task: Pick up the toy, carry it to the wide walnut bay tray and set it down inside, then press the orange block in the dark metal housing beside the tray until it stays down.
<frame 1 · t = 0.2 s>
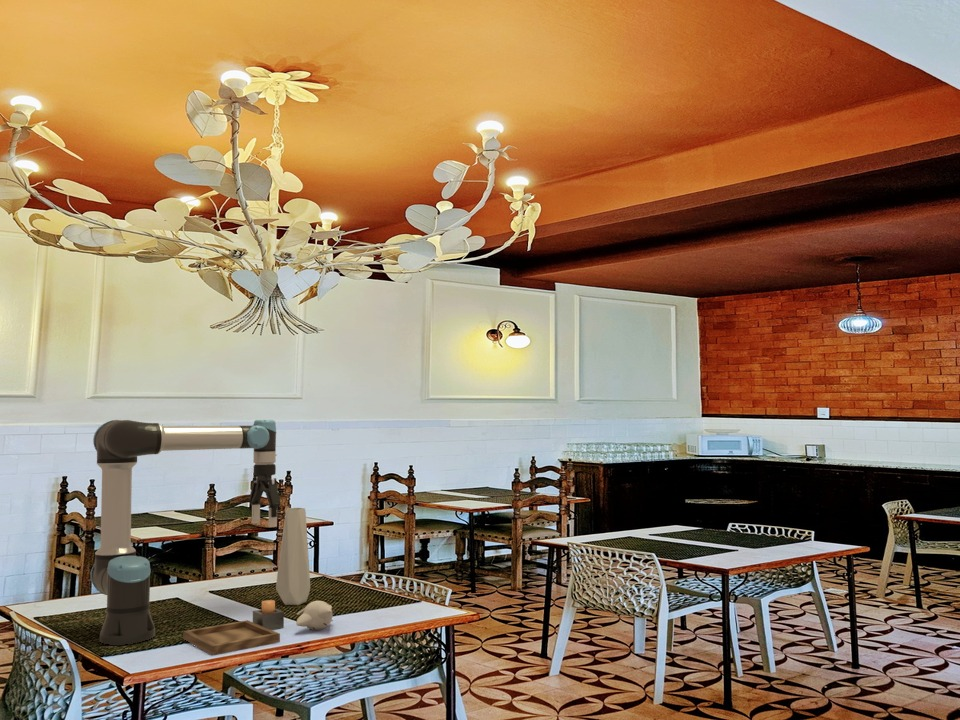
hand: (264, 525, 287), 28 cm above the table, fingers open, 13 cm apart
vase: (295, 603, 290), on the table
bay: (231, 640, 240), on the table
orange block: (268, 609, 255), point 5 cm above the table, slide at 0.0 cm
button housing: (268, 627, 255), on the table
toy: (314, 629, 253), on the table
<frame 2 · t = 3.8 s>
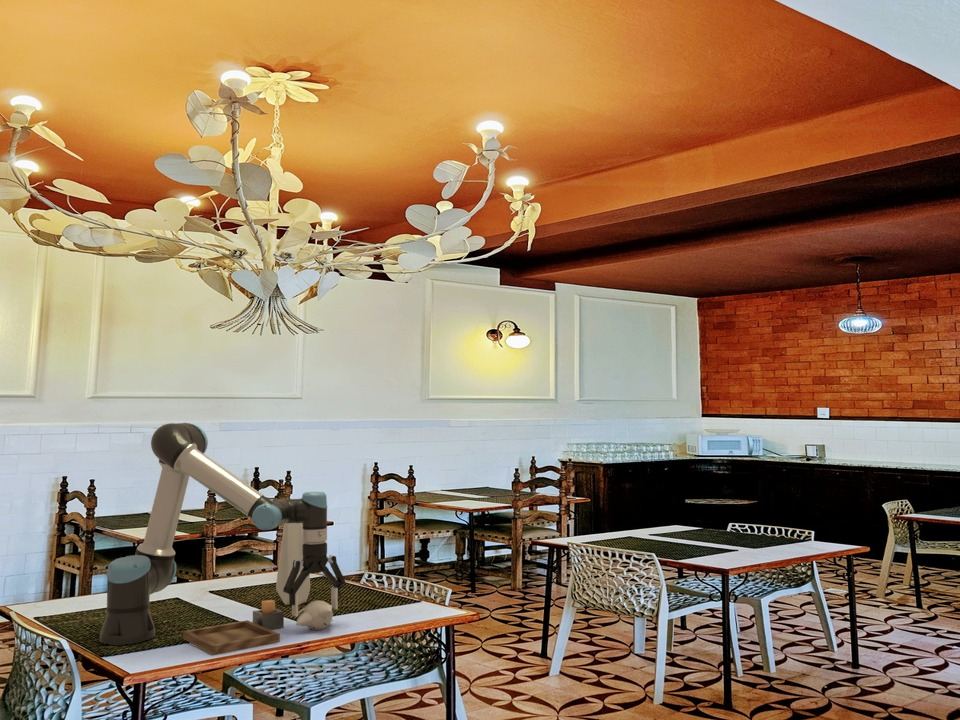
hand: (315, 612, 253), 5 cm above the table, fingers open, 13 cm apart
toy: (314, 629, 253), on the table, touching gripper
everything else where it was.
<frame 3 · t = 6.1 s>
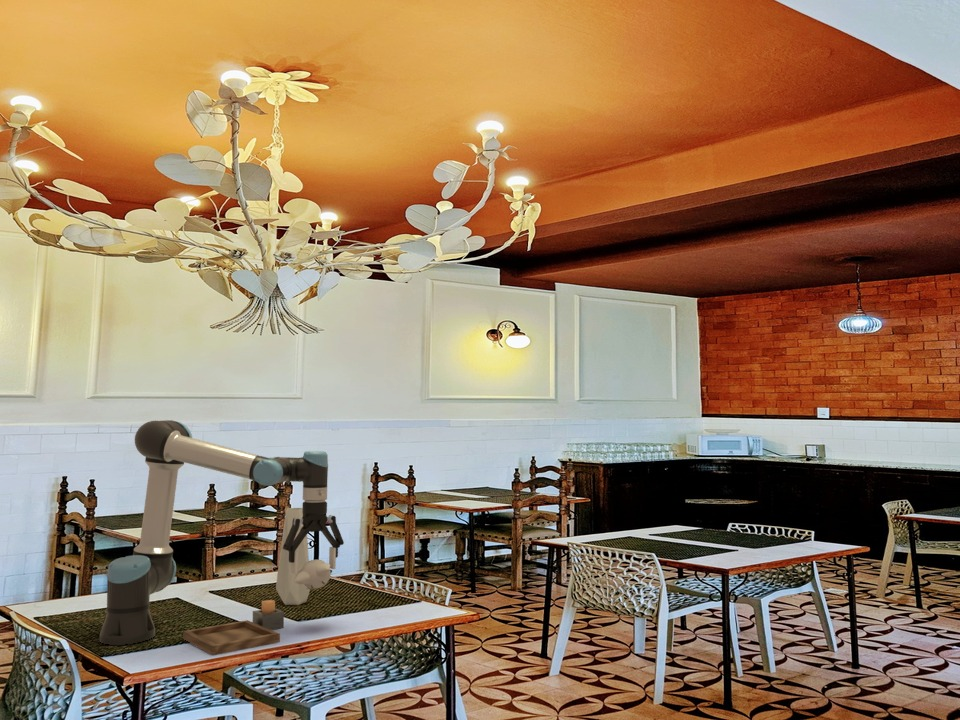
hand: (313, 571, 254), 18 cm above the table, fingers closed on toy, 12 cm apart
toy: (312, 588, 254), point 12 cm above the table, touching gripper
everything else where it was.
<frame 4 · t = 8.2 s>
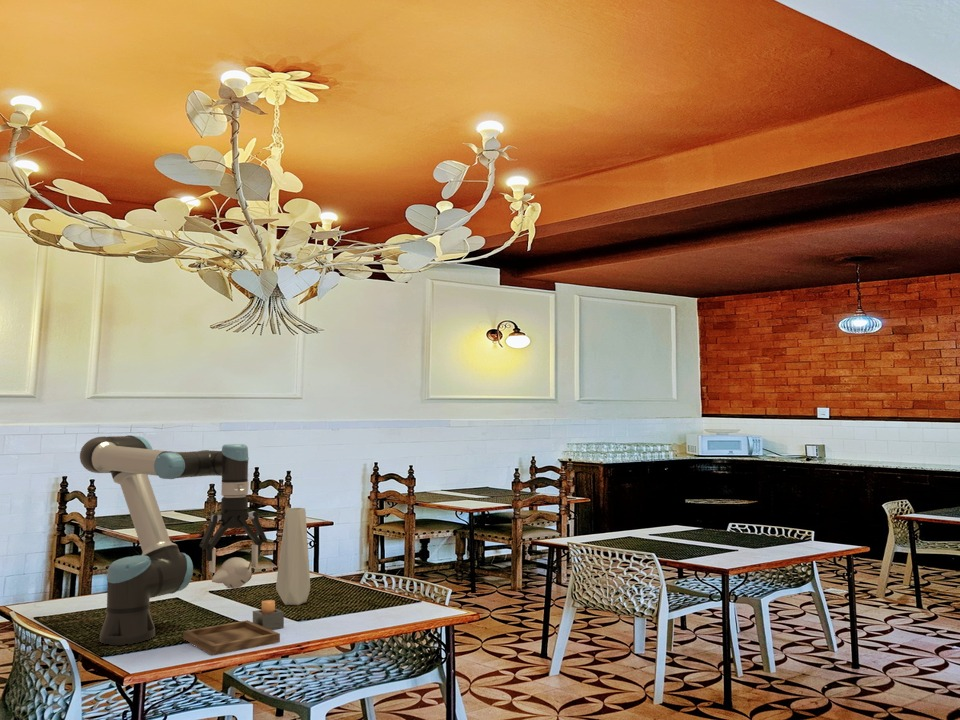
hand: (233, 569, 243), 20 cm above the table, fingers closed on toy, 12 cm apart
toy: (232, 587, 242), point 15 cm above the table, touching gripper
everything else where it was.
when the fingers open (7 cm above the table, at t = 11.7 s): toy drops 1 cm, resting on bay.
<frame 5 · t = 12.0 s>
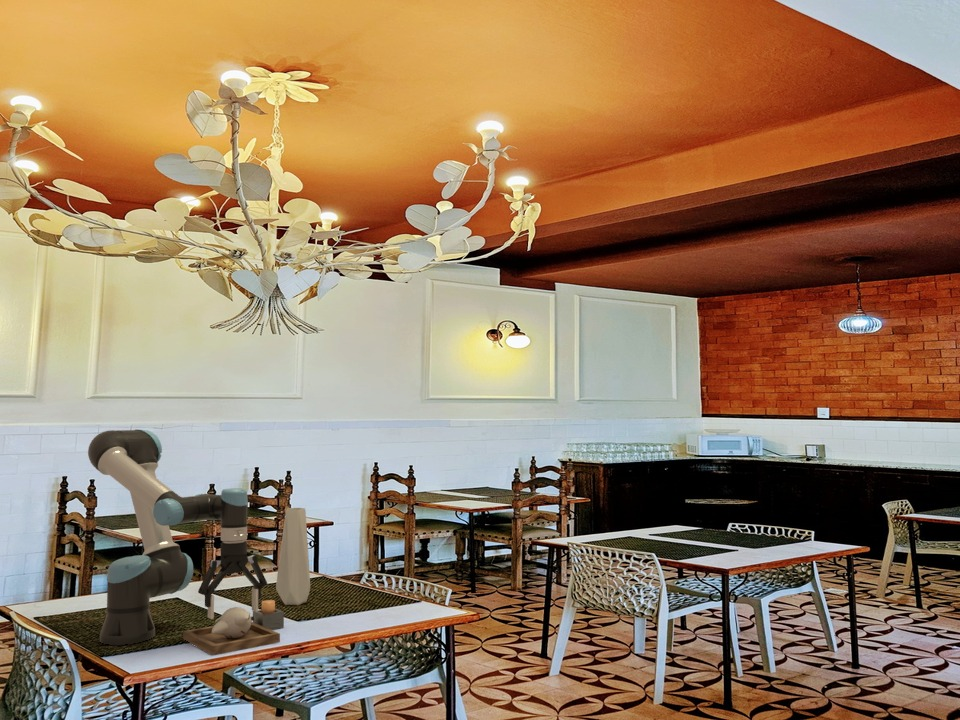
hand: (233, 614, 242), 7 cm above the table, fingers open, 13 cm apart
toy: (232, 637, 241), point 1 cm above the table, touching bay
everything else where it was.
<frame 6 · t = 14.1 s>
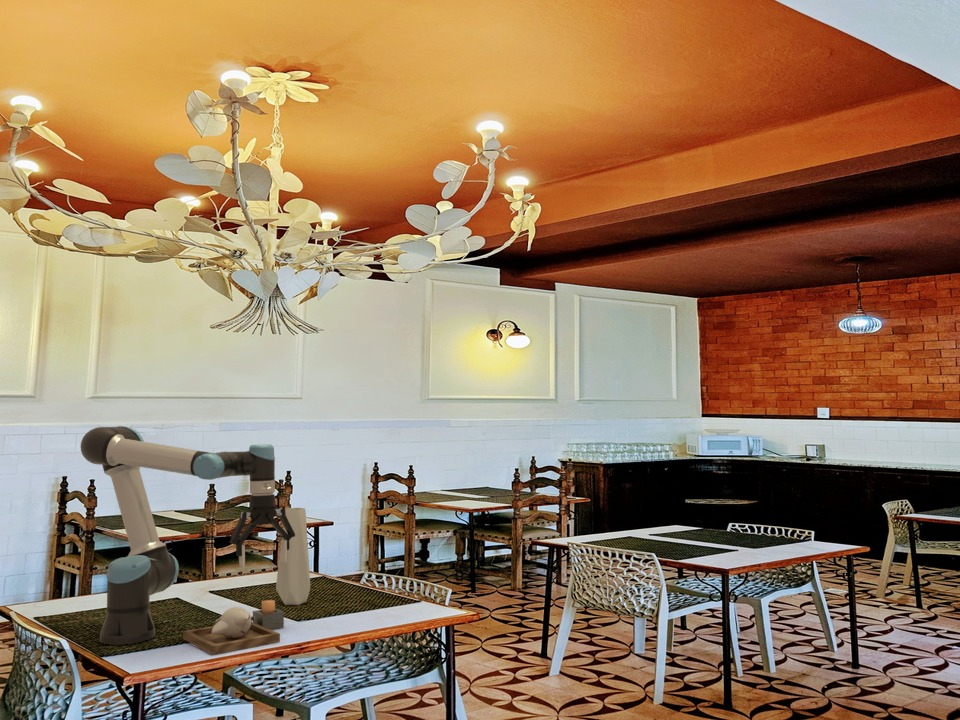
hand: (263, 564, 253), 20 cm above the table, fingers open, 13 cm apart
nothing on the table moved.
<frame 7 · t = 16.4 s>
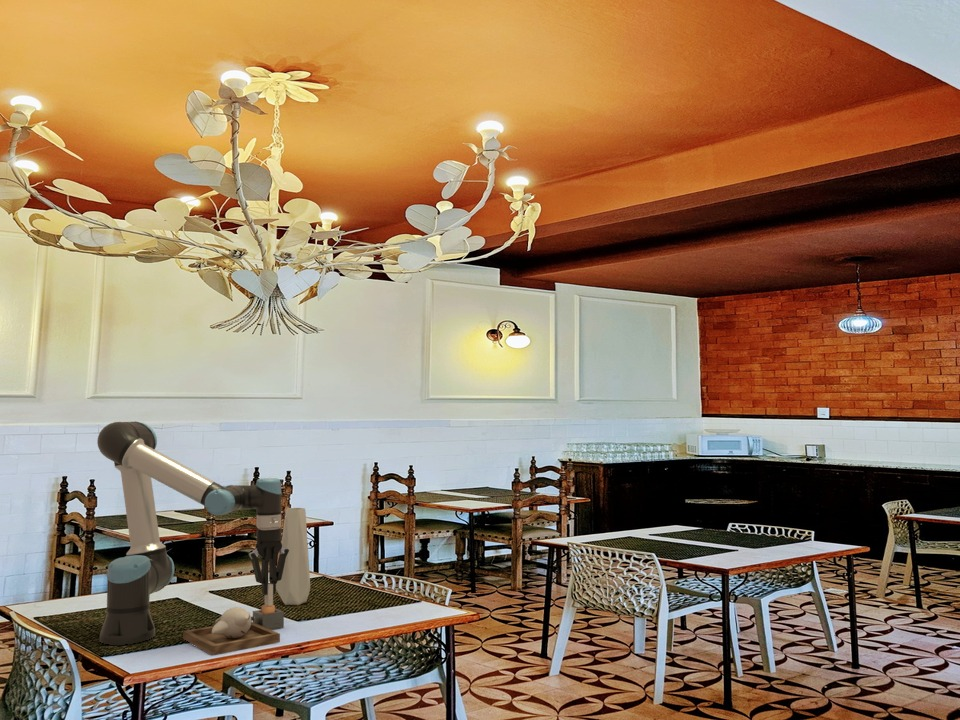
hand: (268, 604, 255), 7 cm above the table, fingers closed
orange block: (268, 614, 255), point 4 cm above the table, slide at 1.3 cm, touching gripper
everything else where it was.
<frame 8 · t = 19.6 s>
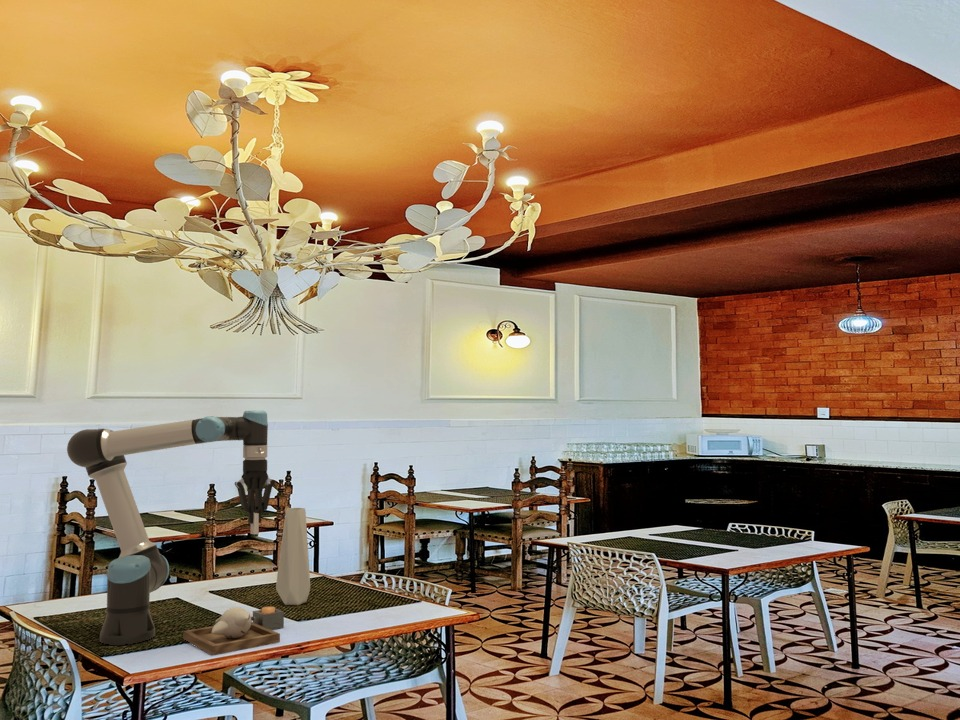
hand: (254, 533, 260), 28 cm above the table, fingers closed
orange block: (268, 616, 255), point 4 cm above the table, slide at 2.0 cm
everything else where it was.
at the end: toy inside the target area on the bay (1.1 cm from its centre), point 0.6 cm above the bay's base; the gripper is holding nothing; orange block slide at 2.0 cm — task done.
